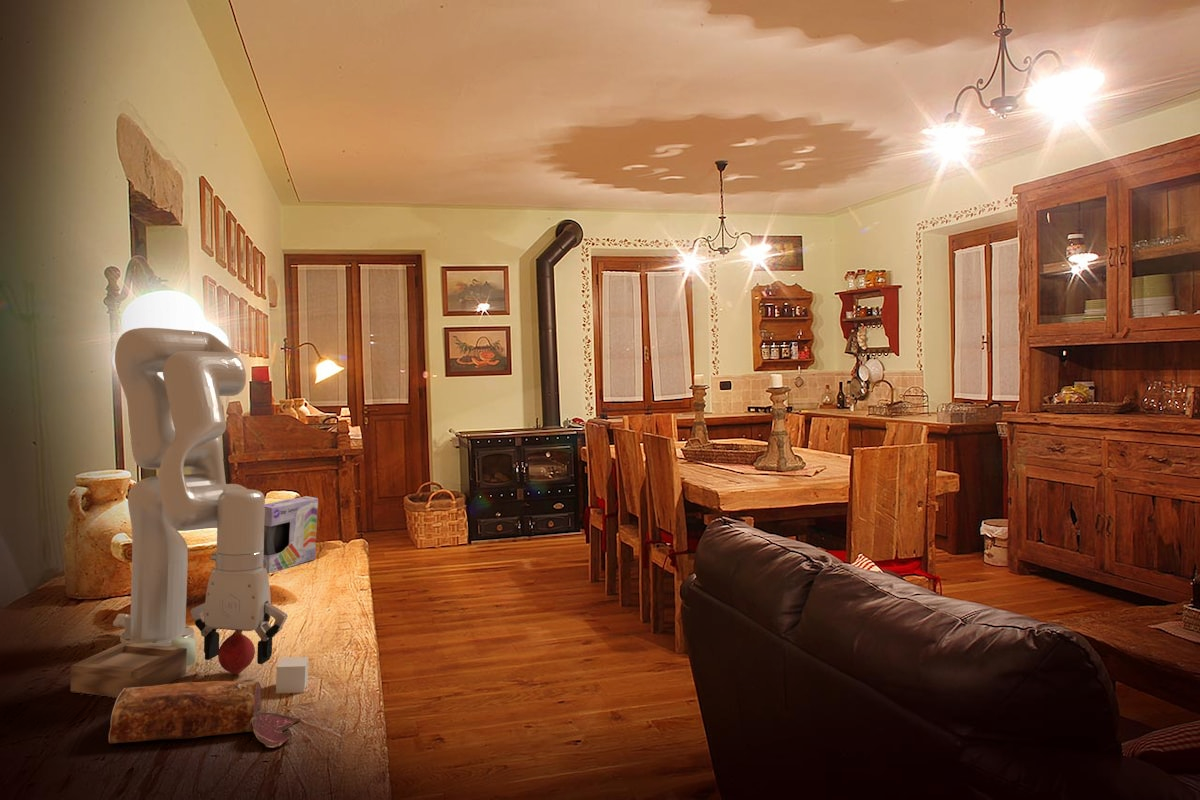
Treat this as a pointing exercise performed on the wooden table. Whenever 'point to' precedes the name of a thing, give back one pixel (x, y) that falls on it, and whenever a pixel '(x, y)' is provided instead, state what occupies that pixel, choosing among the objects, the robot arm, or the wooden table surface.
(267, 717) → the cured meat
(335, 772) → the wooden table surface
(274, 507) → the cake pan box
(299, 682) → the grey ceramic cube
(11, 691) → the wooden table surface
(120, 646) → the shallow wooden tray
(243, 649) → the red fruit
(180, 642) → the sage painted capsule
